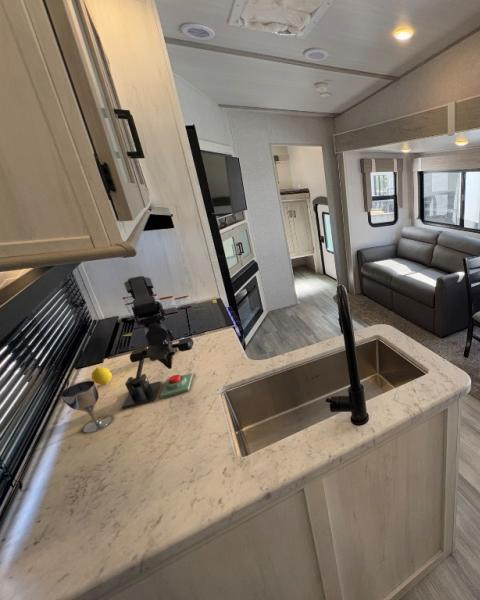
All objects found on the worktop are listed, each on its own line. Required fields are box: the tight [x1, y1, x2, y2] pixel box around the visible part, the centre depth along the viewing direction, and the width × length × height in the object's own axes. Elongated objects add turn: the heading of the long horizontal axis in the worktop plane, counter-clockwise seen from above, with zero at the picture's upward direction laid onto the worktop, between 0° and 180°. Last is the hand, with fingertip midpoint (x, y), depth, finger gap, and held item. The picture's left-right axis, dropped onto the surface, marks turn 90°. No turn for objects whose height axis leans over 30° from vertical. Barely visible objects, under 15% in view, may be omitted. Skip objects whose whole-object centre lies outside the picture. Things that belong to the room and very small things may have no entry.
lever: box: [131, 355, 149, 388], centre depth 119 cm, size 15×4×2 cm, turn 25°
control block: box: [159, 373, 194, 399], centre depth 121 cm, size 11×9×3 cm
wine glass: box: [60, 380, 112, 434], centre depth 101 cm, size 8×8×15 cm
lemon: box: [91, 366, 113, 385], centre depth 123 cm, size 6×6×8 cm
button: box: [168, 374, 181, 384], centre depth 120 cm, size 4×4×2 cm
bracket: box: [121, 373, 161, 410], centre depth 116 cm, size 12×9×8 cm
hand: (170, 368), depth 118 cm, fingers closed
